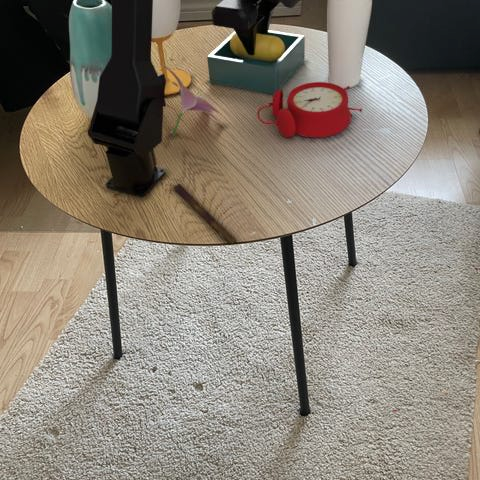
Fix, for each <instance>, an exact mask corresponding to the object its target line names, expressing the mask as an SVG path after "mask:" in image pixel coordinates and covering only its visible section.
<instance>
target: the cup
mask: <svg viewBox="0 0 480 480" xmlns="http://www.w3.org/2000/svg"><path fill="white" fill-rule="evenodd" d="M181 4H182V3H181V0H153V13H152V40H151V43H155V44H156V46H157V51H158V57H159V63H160V68H161V69H159V70H156V72H157V73H161V74H164V75H165V79H166V86H165V96H169V95H175V94H177V93H178V94H179V93H180V92H179V88H180V89H181V87H180V85H179V83H178V81H177V79H176V78H175V77H174V76H173V74H172V73H171V72H170V71H169V70H168V69H167V68H166V67H167V65H166V58H165V54H164V47H163V43H164V42H165V41H167V40H169V39H170V38H171V37H172V36H173V35H174V33H175V32H176V30H177V28H178V25H179V22H180V18H181V8H182V6H181ZM161 63H162V64H163V65H165V66H166V67H164V66H163V65H162V64H161ZM169 69H170V70H171V71H172V72H173V73H175V74H176V76H177V77H178V78H179V79H180V80H181V82H182V83H183V86H185V87H186V88H187V89H188V87H190V85H191V83H192V77H191V74H189V73H188V72H187V71H184V70H181V69H178V68H177V69H176V68H169ZM172 82H175V83H176V84H177V85H178V87H179V88H178V87H177V86H176V85H174V84H173V83H172Z"/></svg>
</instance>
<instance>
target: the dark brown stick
mask: <svg viewBox="0 0 480 480" xmlns="http://www.w3.org/2000/svg"><path fill="white" fill-rule="evenodd" d="M173 188H174V189H175V191H176V192H177V194H179V195H180V196H181V198H183V199H184V200H185V202H186V203H188V205H190V207H192V209H195V212H197V214H199V216H200V217H201V218H202V219H203V220H204V221H205V222H206V223H207V224H208V225H211V227H212V229H214V231H215V232H217V234H219V236H220V237H221V238H223V240H225V242H226V243H228V245H230V246H232V245H235V243H236V242H237V239H236V238H235V237H234V236H233V235H232V234H231V233H230V232H229V231H228V230H227V229H226V228H225V227H224V226H223V225H222V224H221V223H219V221H218V220H217V219H215V217H213V216H212V214H210V213H209V212H208V211H207V210H206V209H205V208H204V207H203V205H201V203H200V202H198V201H197V200H196V198H194V197H193V196H192V195H191V194H190V193H189V192H188V191H187V189H185V188H184V187H183V186H182V184H181V183H178V184H177V185H175V186H173Z"/></svg>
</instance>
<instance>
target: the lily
mask: <svg viewBox="0 0 480 480" xmlns="http://www.w3.org/2000/svg"><path fill="white" fill-rule="evenodd" d="M161 64H162V63H161ZM161 64H160V65H161ZM162 65H163V64H162ZM165 65H166V64H165ZM165 65H163V66H164V67H166V69H168V70H169V71H170V72H171V73H172V74H173V76H174V77H175V78H176V79H177V81H178V83H179V85H180V87H181V89H180V88H179V87H178V85H177V84H176V83H175V82H172V83H173V84H174V85H176V86H177V87H178V88H179V92H178V93H179V96H180V102H181V108H182V109H181V112H180V114H179V116H178V118H177V120H176V124H175V126H174V130H173V136H176V133H177V129H178V127H179V123H180V120H181V118H182V116H183V115H184V113H185V112H188V111H189V112H190V111H193V112H194V111H195V112H196V111H197V112H202V113H205V114H207V115H209V116H210V117H212V118H213V119H214V120H216V121H217V122H218V124H220V125H221V126H222V127H224V125H223V124H222V122H221V121H220V120H219V119H218V118H217V117H216V115H214V114H213V113H212V112H215V113H218V114H220V111H218V109H217V108H216V107H214V105H212V104H211V103H210V102H209V101H208V100H206V99H205V98H203V97H201V96H202V94H203V93H200V92H202V91H203V89H200V90H198V89H199V88H196V91H195V93H193V92H192V90H189V89H188V87H187V88H186V87H185V86H183V83H182V82H181V80H180V79H179V78H178V77H177V76H176V74H175V73H173V72H172V71H171V70H170V69H171V68H169V67H168V66H167V65H166V66H165Z"/></svg>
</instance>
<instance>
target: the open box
mask: <svg viewBox="0 0 480 480" xmlns="http://www.w3.org/2000/svg"><path fill="white" fill-rule="evenodd" d="M235 33H236V32H235V31H234V30H233V32H232V33H231V34H230V35H229V36H227V38H225V39H224V40H223V41H222V42H221V43H220V44H219V45H217V46H216V48H215V49H213V50H212V51H211V52H210V53H209V54H208V55H207V56H206V59H207V69H208V79H209V83H211V84H216V85H222V86H227V87H232V88H238V89H243V90H249V91H253V92H259V93H263V94H269V95H274V93H275V92H276V91H278V90H282V88H283V87H284V85H285V84H286V83H287V82H288V81H289V80H290V79H291V77H292V76H293V75H294V74H295V73H296V72H297V70H299V68H300V67H301V66H302V65H303V63H305V51H306V50H305V46H306V45H305V43H306V36H305V35H303V34H298V33H297V34H296V33H290V32H284V31H278V30H272V29H271V30H270V29H269V30H268V34H267V35H270V36H276V37H279V38H280V39H281V40H282V41H283V43H284V46H285V52H284V54H283V55H282V56H281V57H280V58H279V59H278V60H277V61H276V62H269V61H263V60H257V59H251V58H245V57H240V56H237V55H235V54H234V53H233V52H232V50H231V48H230V40H231V38H232V36H233V35H234V34H235Z"/></svg>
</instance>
